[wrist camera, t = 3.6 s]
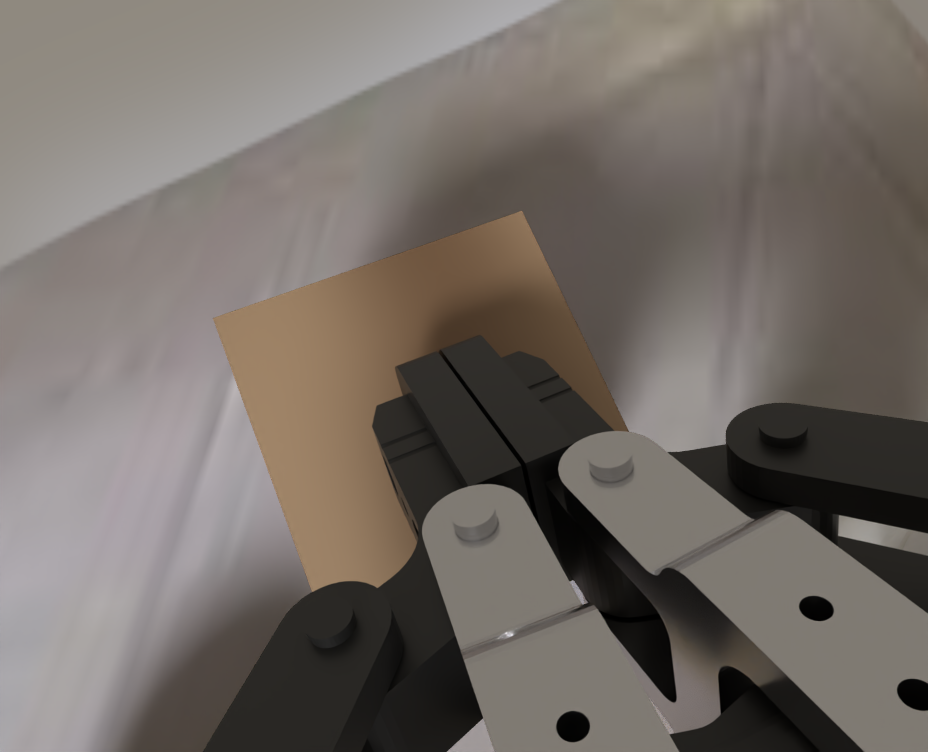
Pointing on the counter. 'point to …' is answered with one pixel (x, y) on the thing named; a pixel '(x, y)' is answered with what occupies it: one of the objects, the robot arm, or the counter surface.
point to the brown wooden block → (385, 378)
